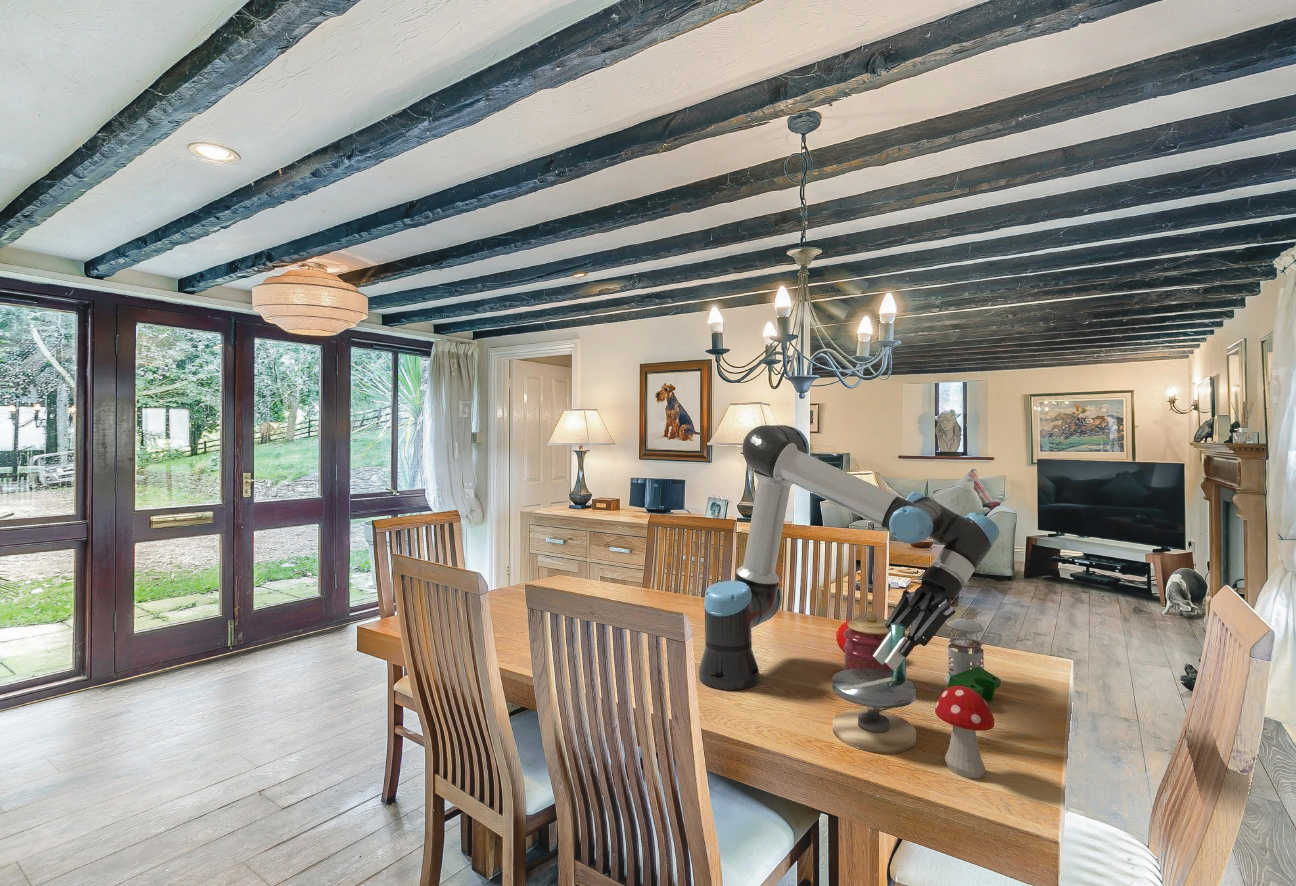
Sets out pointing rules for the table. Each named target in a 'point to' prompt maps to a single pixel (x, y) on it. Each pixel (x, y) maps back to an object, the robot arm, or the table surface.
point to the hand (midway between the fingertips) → (883, 663)
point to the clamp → (976, 682)
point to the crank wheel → (877, 684)
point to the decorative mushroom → (964, 729)
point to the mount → (874, 731)
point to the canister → (864, 642)
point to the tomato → (842, 635)
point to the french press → (964, 646)
